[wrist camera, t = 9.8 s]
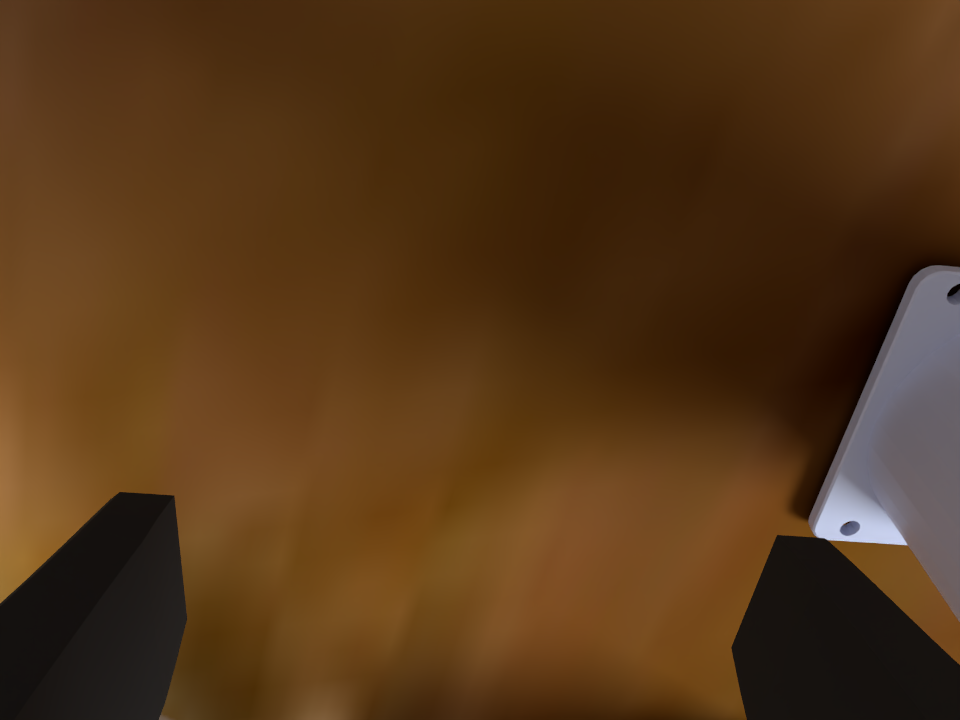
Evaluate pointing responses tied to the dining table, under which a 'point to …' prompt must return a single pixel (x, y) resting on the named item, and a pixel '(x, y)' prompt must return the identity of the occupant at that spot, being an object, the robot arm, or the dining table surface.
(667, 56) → the dining table surface
